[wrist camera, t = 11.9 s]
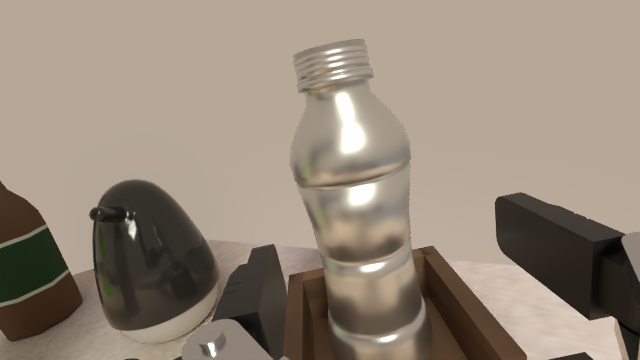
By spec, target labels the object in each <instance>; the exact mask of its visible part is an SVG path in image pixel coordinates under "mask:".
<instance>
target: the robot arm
mask: <svg viewBox="0 0 640 360" xmlns="http://www.w3.org/2000/svg"><path fill="white" fill-rule="evenodd" d="M495 216H496V237H497V242H498V245H499V247H500V249H501V251H502V252H503V253H504V254H505V255H506V256H507V257H508V258H510V259H511V260H512V261H514V262H515V263H516V264H517V265H519V266H520V267H521V268H523V269H524V270H525V271H526V272H528V273H529V274H530V275H532V276H533V277H534V278H535V279H537V280H538V281H539V282H541V283H542V284H543V285H544V286H546V287H547V288H548V289H550V290H551V291H552V292H553V293H555V294H556V295H557V296H559V297H560V298H561V299H562V300H564V301H565V302H566V303H568V304H569V305H570V306H571V307H573V308H574V309H575V310H577V311H578V312H579V313H580V314H582V315H583V316H584V317H586V318H587V319H588V320H589V321H590V320H595V319H599V318H604V317H609V316H613V317H614V318H615V328H614V329H615V334H616V338H617V341H618V345H619V348H620V352H621V355H622V359H623V360H640V232H634V233H629V234H624V233H621V232H619V231H617V230H614V229H612V228H610V227H607V226H605V225H603V224H600V223H598V222H595V221H593V220H591V219H586V217H584V216H581V215H578V214H574V212H572V211H569V210H567V209H565V208H562V207H560V206H556V205H552V204H548V203H545V202H543V201H541V200H539V199H536V198H534V197H532V196H529V195H527V194H525V193H515V194H510V195H505V196H501V197H498V198H497V199H496V201H495ZM286 307H287V291H286V285H285V281H284V277H283V273H282V270H281V266H280V262H279V259H278V255H277V251H276V248H275V246H274V244H272V245H266V246H262V247H257V248H253V249H252V251H251V254H250V257H249V260H248V263H247V264H243V265H239V266H238V268H237V269H236V270H235V271H234V272H233V273H232V274H231V275H230V277H229V279H228V282H227V284H226V287H225V289H224V292H223V296H222V297H221V299H220V301H219V304H218V306H217V309H216V311H215V314H214V316H213V319H212V321H211V323H209V324H207V325H205V326H203V327H202V328H200V329H199V330H197V331H196V332H195V333H194V334H193V335H192V336H191V337H190V338H189V339H188V340H187V342H186V343H185V345H184V347H183V349H182V356H180V357H178V358H176V359H174V360H289V359H288V358H287V357H285V356H283V345H284V332H285V319H286ZM125 360H139V359H134V358H133V359H125ZM550 360H593V359H592V358H591V357H590V356H589V355H588V354H587V353H585V352H583V353H578V354H573V355H569V356H564V357H559V358H554V359H550Z"/></svg>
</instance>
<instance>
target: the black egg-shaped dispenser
mask: <svg viewBox="0 0 640 360" xmlns="http://www.w3.org/2000/svg"><path fill="white" fill-rule="evenodd" d="M89 215H90V218H91V219H92V220H93V221H94V222H93V236H92V237H93V238H92V241H93V243H92V244H93V261H94V271H95V278H96V284H97V289H98V293H99V297H100V301H101V305H102V308H103V311H104V314H105V317H106V319H107V321H108V323H109V324H110V326H111V327H113V328H114V329H117V330H119V331H120V332H121V333H122V334H123V335H125V336H126V337H128V338H129V339H131V340H133V341H136V342H139V343H144V344H159V343H164V342H168V341H171V340H174V339H176V338H179V337H181V336H183V335H185V334H186V333H188V332H190V331H191V330H192V329H194V328H195V327H196V326H198V325H199V324H200V323H201V322H202V321H203V320H204V319H205V318H206V317H207V315H208V314H209V313H210V311H211V309H212V308H213V306H214V304H215V301H216V298H217V294H218V279H219V276H220V271H219V267H218V264H217V262H216V259H215V257H214V255H213V253H212V251H211V250H210V248H209V246H208V244H207V242H206V241H205V239H204V237H203V236H202V234H201V232H200V231H199V229H198V228H197V227H196V225H195V224H194V222H193V221H192V220H191V218H190V217H189V216H188V214H187V213H186V212H185V211H184V209H183V208H182V207H181V206H180V205H179V204H178V203H177V202H176V200H175V199H173V198H172V196H170V195H169V194H168V193H167V192H166V191H165V190H163V189H162V188H160V187H159V186H157V185H156V184H154V183H152V182H149V181H145V180H139V179H132V180H125V181H122V182H119V183H117V184H115V185H114V186H112V187H110V188H109V189H108V190H107V191H106V192H105V193H104V194H103V195H102V197H101V198H100V200H99V202H98V205H97V207H95V208H93V209H92V210H91V211H90V214H89Z"/></svg>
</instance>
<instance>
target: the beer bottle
mask: <svg viewBox="0 0 640 360" xmlns="http://www.w3.org/2000/svg"><path fill="white" fill-rule="evenodd" d="M82 300H83V299H82V297H81V294H80V292H79V289H78V287H77V285H76V283H75V281H74V279H73V277H72V275H71V273H70V271H69V269H68V267H67V265H66V263H65V261H64V259H63V257H62V254H61V252H60V250H59V248H58V246H57V244H56V242H55V240H54V238H53V236H52V234H51V232H50V231H49V228H48V226H47V224H46V222H45V221H44V219H43V218H42V216H41V214H40V213H39V211H38V210H37V209H36V208H35V207H34V206H33V205H31V204H30V203H29V202H28V201H27V200H26V199H24V198H22V197H20V196H18V195H16V194H15V193H13V192H11V191H9V190H7V189H6V187H5V186H4V185H3V184H2V183H1V181H0V329H1V331H2V332H3V333H4V335H5V336H6V338H7V339H8V340H10V341H16V340H19V339H23V338H27V337H31V336H34V335H38V334H40V333H42V332H44V331H45V330H47V329H49V328H51V327H52V326H54V325H56V324H58V323H59V322H61V321H63V320H65V319H67V318H68V317H69V316H70V315H71V314H72V313H73V312H74V311H75V310H76V309H77V308H78V307H79V306H80V305H81V303H82Z"/></svg>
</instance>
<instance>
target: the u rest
mask: <svg viewBox="0 0 640 360" xmlns="http://www.w3.org/2000/svg"><path fill="white" fill-rule="evenodd" d="M412 255H413V260H414V264H415V269H416V273H417V278H418V282H419V287H420V291H421V295H422V297H423V299H424V302H425V304H426V307H427V310H428V313H429V317H430V321H431V324H432V330H433V339H432V349H431V357H430V360H527V355H526V354H525V353H524V351H523V350H522V349H521V348H520V347H519V346H518V344H517V343H516V342H515V341H514V340H513V339H512V337H511V336H510V335H509V334H508V333H507V332H506V330H505V329H504V328H503V327H502V326H501V325H500V323H499V322H498V321H497V320H496V319H495V318H494V316H493V315H492V314H491V313H490V312H489V311H488V309H487V308H486V307H485V306H484V305H483V304H482V302H481V301H480V300H479V299H478V298H477V297H476V295H475V294H474V293H473V292H472V291H471V290H470V288H469V287H468V286H467V285H466V284H465V283H464V282H463V280H462V279H461V278H460V277H459V276H458V275H457V273H456V272H455V271H454V270H453V269H452V268H451V266H450V265H449V264H448V263H447V262H446V261H445V259H444V258H443V257H442V256H441V255H440V254H439V252H438V251H437V250H436V249H435V248H434V247H433V246H429V247H424V248H419V249H414V250H412ZM328 310H329V306H328V298H327V290H326V282H325V274H324V268H322V269H317V270H313V271H308V272H303V273H298V274H293V275H289V283H288V295H287V307H286V319H285V332H284V345H283V356H285V357H287V358H288V359H289V360H336V358H335V356H334V354H333V352H332V349H331V346H330V342H329V330H328Z"/></svg>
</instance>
